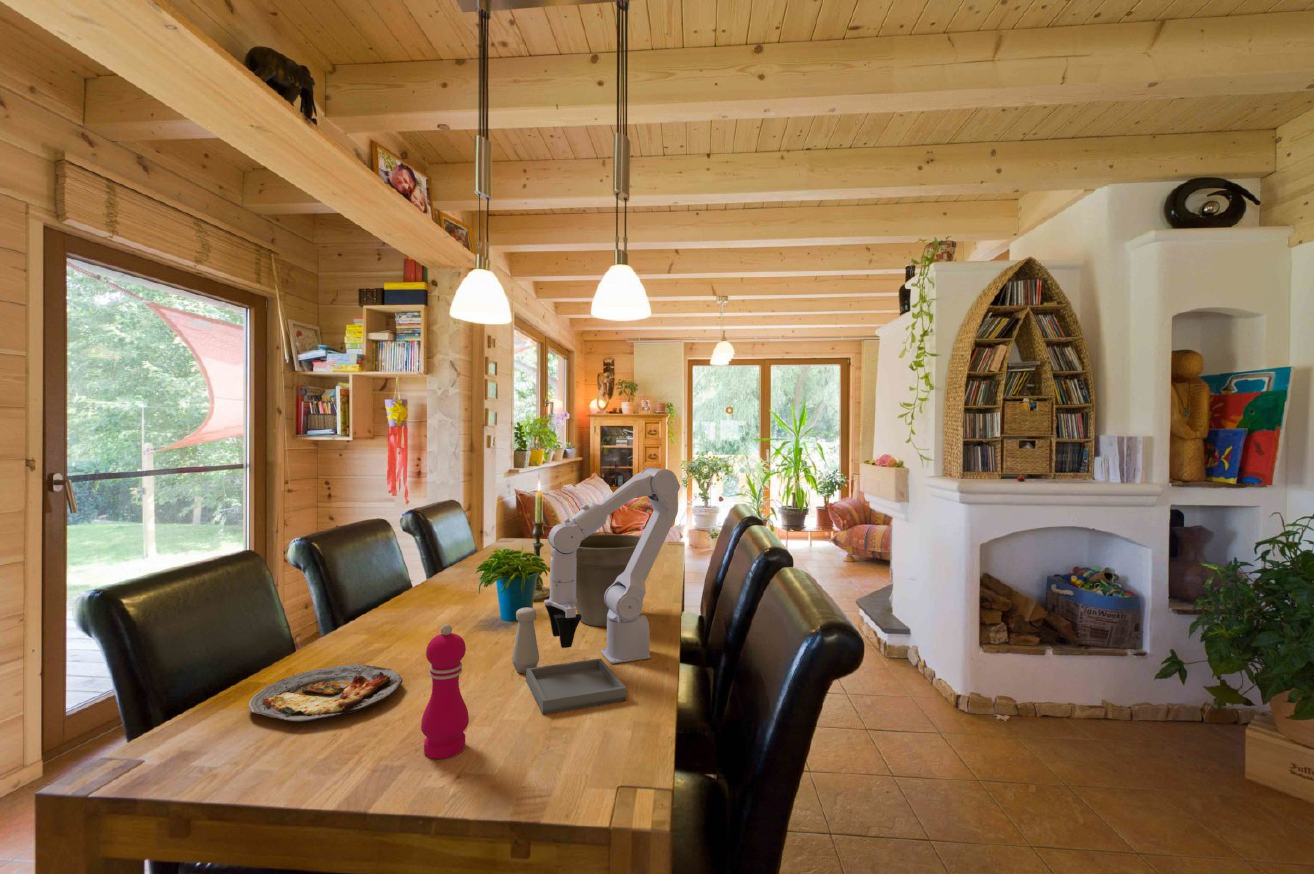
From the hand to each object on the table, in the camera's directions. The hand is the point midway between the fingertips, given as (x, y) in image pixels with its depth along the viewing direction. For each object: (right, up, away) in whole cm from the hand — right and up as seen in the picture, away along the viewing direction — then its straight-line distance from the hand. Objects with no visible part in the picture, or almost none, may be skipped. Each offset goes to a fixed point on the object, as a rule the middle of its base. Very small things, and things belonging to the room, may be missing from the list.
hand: (562, 641), depth 132 cm
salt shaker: (-7, -5, -3) cm, 10 cm away
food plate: (-41, -5, -18) cm, 45 cm away
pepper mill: (-13, -5, -36) cm, 39 cm away
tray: (+5, -5, -13) cm, 15 cm away
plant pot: (+7, -5, +33) cm, 34 cm away
